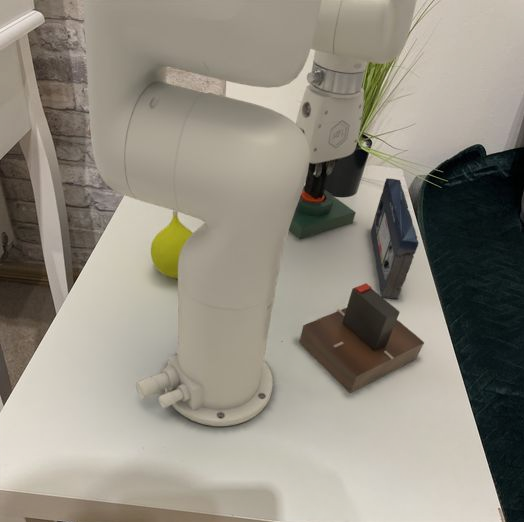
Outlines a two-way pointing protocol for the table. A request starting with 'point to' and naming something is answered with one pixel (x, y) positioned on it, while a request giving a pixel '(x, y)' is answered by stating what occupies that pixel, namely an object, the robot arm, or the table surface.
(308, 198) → the button
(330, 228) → the button box
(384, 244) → the vhs cassette tape
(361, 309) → the grey square slab
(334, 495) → the table surface
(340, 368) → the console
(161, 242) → the ornament
